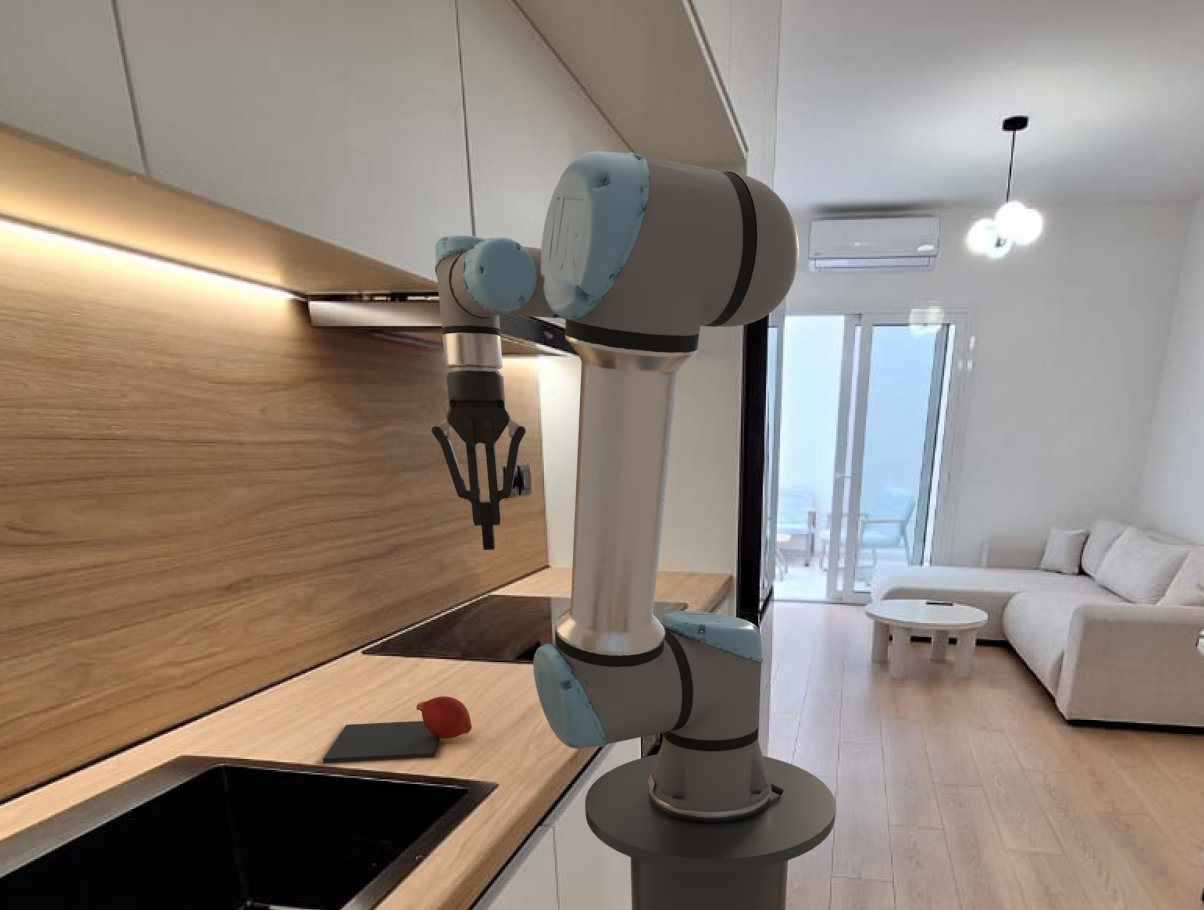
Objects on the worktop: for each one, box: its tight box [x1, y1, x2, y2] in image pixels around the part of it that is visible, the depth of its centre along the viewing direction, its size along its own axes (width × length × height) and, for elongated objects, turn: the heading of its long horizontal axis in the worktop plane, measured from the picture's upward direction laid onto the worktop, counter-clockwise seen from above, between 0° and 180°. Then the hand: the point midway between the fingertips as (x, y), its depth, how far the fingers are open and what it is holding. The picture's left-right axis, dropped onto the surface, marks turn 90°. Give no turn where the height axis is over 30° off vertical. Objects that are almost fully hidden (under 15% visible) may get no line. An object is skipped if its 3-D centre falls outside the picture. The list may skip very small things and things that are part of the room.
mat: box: [322, 720, 441, 764], centre depth 112 cm, size 14×13×1 cm
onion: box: [415, 695, 473, 740], centre depth 112 cm, size 6×6×8 cm
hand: (489, 548), depth 118 cm, fingers closed
